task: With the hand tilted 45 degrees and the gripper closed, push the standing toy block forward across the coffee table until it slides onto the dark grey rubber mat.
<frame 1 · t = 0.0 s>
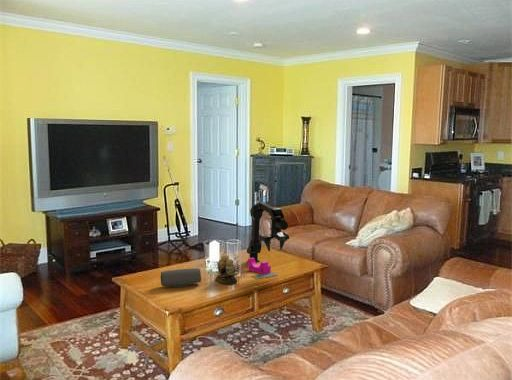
hand: (275, 250, 294), 15 cm above the table, tool pointing down, fingers open, 9 cm apart
toy block: (259, 271, 297), on the table, touching mat
bluetooth speaker: (180, 286, 267), on the table
mat: (264, 275, 288), on the table
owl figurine: (226, 281, 277), on the table
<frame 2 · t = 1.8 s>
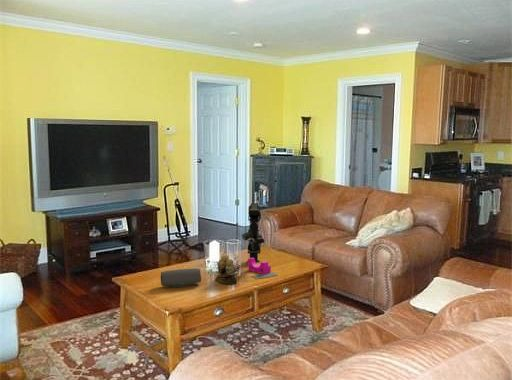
hand: (253, 250, 303), 12 cm above the table, tool pointing down, fingers closed
nothing on the table moved.
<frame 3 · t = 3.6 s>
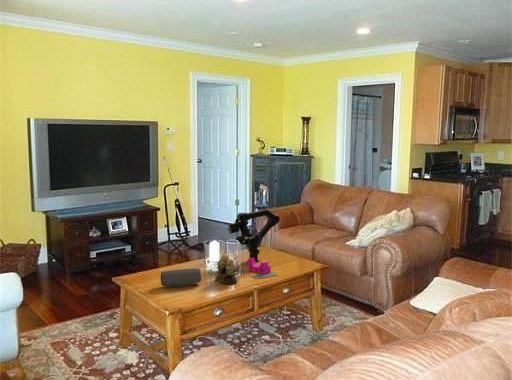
hand: (252, 249, 305), 13 cm above the table, tool tilted 45°, fingers closed
nothing on the table moved.
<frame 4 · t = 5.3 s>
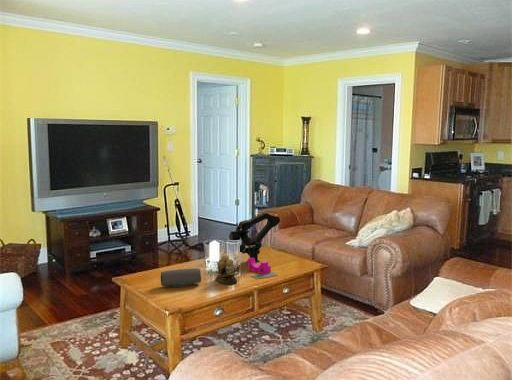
hand: (252, 258, 304), 7 cm above the table, tool tilted 45°, fingers closed
nothing on the table moved.
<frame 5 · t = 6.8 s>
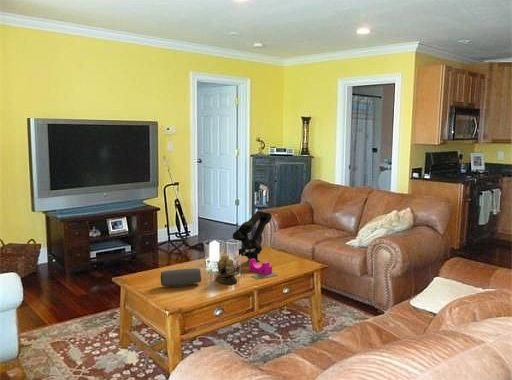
hand: (252, 262, 300), 5 cm above the table, tool tilted 40°, fingers closed
toy block: (260, 271, 296), on the table, touching gripper
everything else where it was.
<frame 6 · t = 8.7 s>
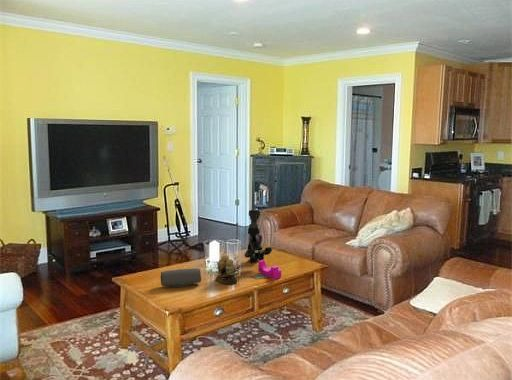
hand: (262, 263, 293), 6 cm above the table, tool tilted 45°, fingers closed
toy block: (269, 274, 289), point 1 cm above the table, touching gripper
everything else where it was.
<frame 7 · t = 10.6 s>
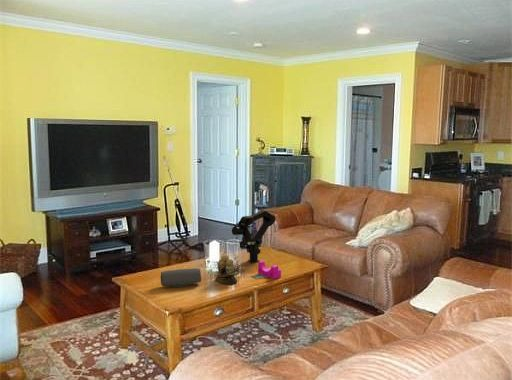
hand: (253, 255, 304), 9 cm above the table, tool tilted 35°, fingers closed
toy block: (269, 275, 289), on the table, touching mat
everything else where it was.
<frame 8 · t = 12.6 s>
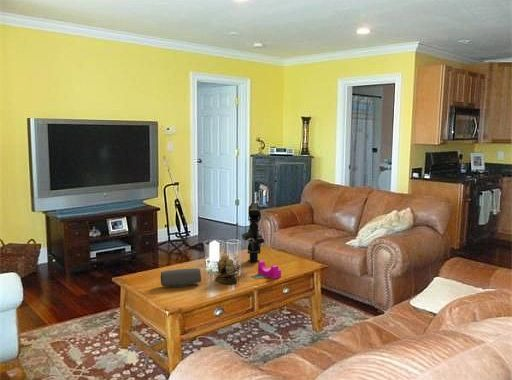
hand: (253, 250, 303), 12 cm above the table, tool pointing down, fingers closed
nothing on the table moved.
at the end: toy block inside the target area (1.3 cm from its centre), on the table; toy block touching mat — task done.
